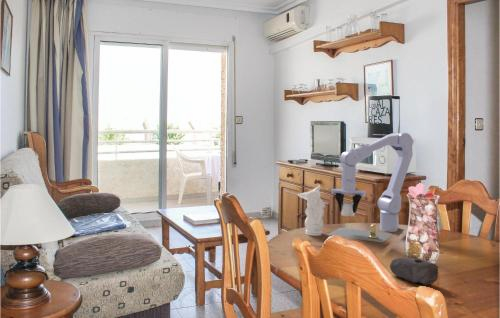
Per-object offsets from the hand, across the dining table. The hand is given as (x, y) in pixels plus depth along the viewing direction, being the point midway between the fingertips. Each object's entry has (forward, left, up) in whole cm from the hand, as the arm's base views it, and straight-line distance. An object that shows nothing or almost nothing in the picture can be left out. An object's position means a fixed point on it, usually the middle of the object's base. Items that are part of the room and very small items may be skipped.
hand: (348, 211), depth 185 cm
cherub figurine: (+9, -13, -11) cm, 19 cm away
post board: (+1, +6, -10) cm, 12 cm away
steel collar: (0, 0, -1) cm, 1 cm away
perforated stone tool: (+43, +35, -11) cm, 56 cm away
